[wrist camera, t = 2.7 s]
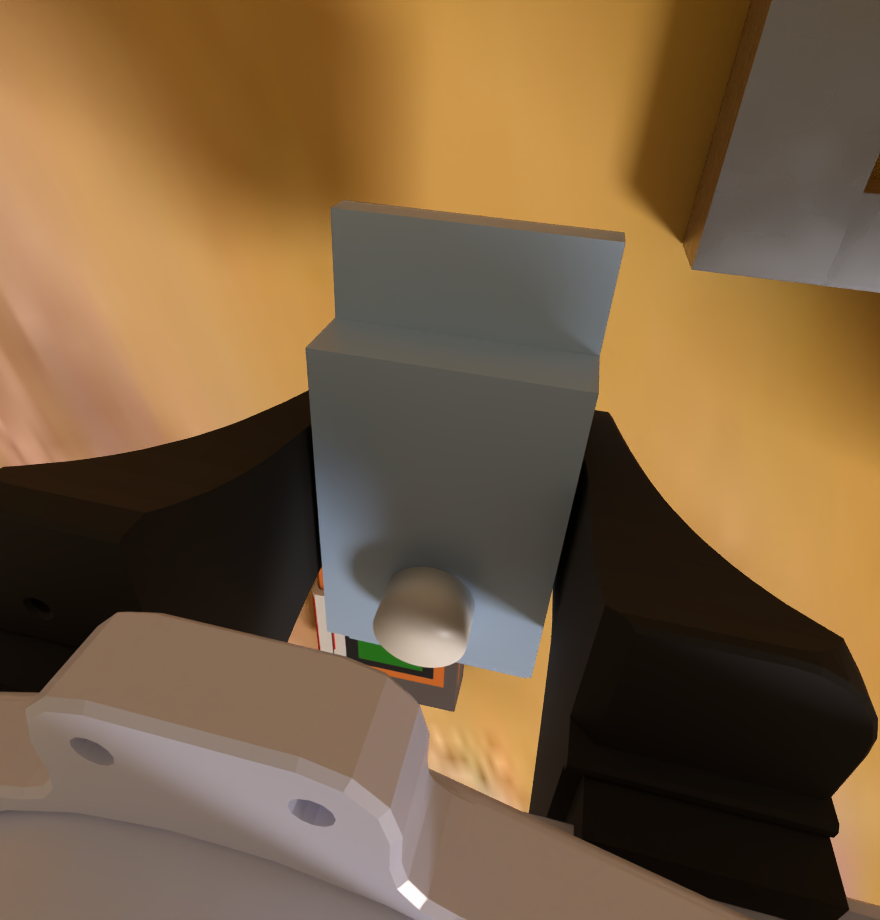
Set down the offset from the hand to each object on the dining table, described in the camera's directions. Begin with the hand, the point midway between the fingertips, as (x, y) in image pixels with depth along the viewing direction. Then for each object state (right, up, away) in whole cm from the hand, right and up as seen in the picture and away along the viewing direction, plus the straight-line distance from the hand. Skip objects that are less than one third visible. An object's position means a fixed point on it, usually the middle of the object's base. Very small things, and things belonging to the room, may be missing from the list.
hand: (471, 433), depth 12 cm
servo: (0, +1, +1) cm, 2 cm away
